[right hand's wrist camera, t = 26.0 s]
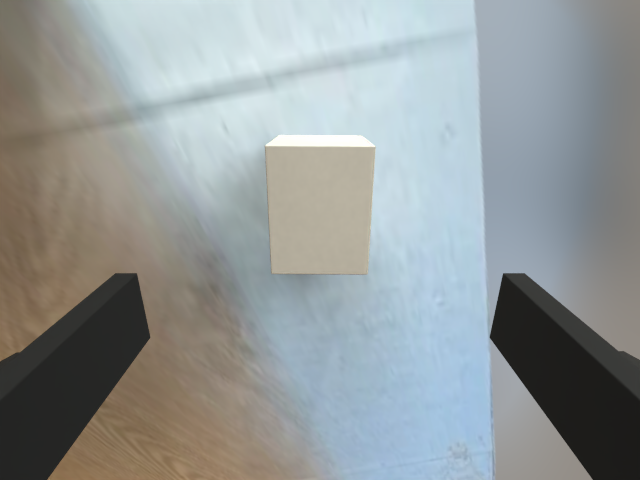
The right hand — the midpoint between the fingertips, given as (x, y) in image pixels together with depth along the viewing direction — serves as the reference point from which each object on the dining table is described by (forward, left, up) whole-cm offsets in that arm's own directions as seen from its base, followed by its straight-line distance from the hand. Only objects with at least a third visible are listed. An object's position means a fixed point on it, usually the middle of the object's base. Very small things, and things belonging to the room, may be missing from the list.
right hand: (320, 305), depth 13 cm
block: (0, 0, -19) cm, 19 cm away
